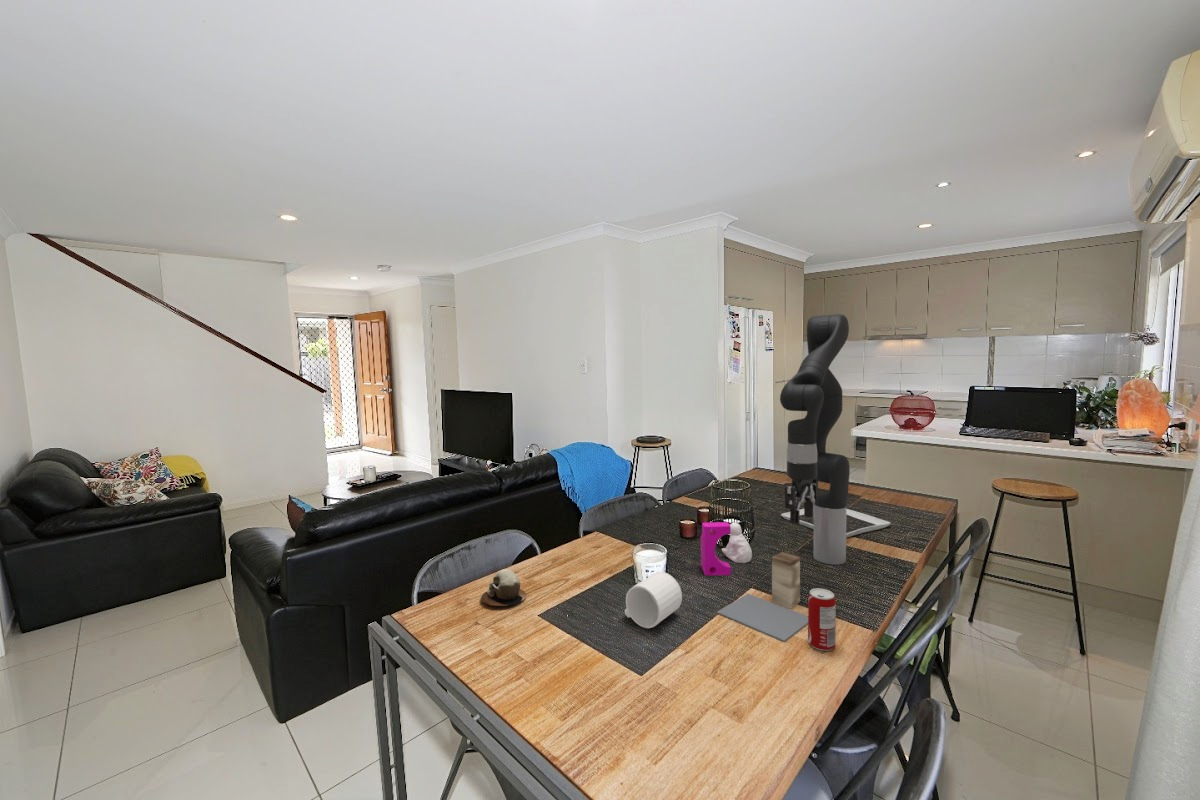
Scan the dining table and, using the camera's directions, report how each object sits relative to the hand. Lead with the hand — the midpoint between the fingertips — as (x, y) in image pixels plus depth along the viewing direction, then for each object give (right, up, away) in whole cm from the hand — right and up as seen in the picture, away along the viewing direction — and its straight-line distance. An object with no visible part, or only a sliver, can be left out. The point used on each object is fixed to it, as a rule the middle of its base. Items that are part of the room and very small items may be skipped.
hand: (801, 520), depth 134 cm
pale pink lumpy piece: (-11, -19, +23) cm, 32 cm away
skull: (-82, -24, -1) cm, 86 cm away
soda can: (-5, -22, -24) cm, 33 cm away
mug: (-38, -17, -6) cm, 42 cm away
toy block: (-24, -12, +15) cm, 30 cm away
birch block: (-6, -20, -4) cm, 22 cm away
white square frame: (+33, -16, +53) cm, 65 cm away
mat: (-14, -21, -11) cm, 27 cm away
